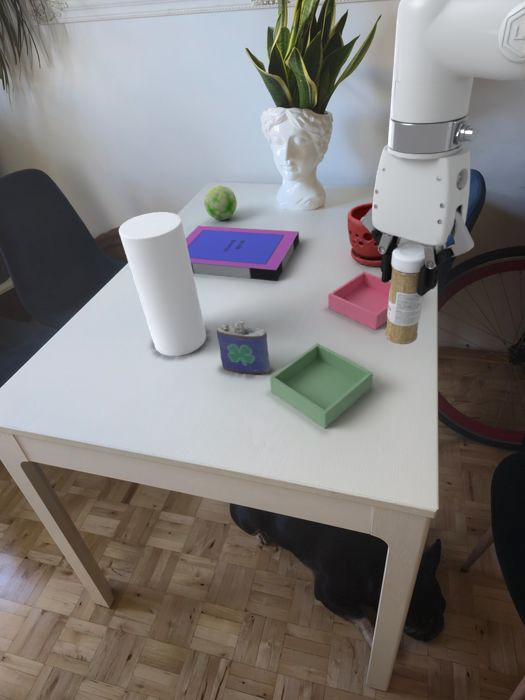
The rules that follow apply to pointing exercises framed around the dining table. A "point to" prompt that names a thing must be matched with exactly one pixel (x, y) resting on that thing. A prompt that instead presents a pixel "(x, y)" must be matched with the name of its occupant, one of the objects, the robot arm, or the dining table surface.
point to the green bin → (321, 384)
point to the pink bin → (362, 300)
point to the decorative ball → (220, 202)
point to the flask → (243, 349)
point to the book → (241, 251)
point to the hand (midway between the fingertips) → (407, 283)
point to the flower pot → (362, 238)
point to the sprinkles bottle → (405, 294)
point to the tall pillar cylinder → (164, 281)
